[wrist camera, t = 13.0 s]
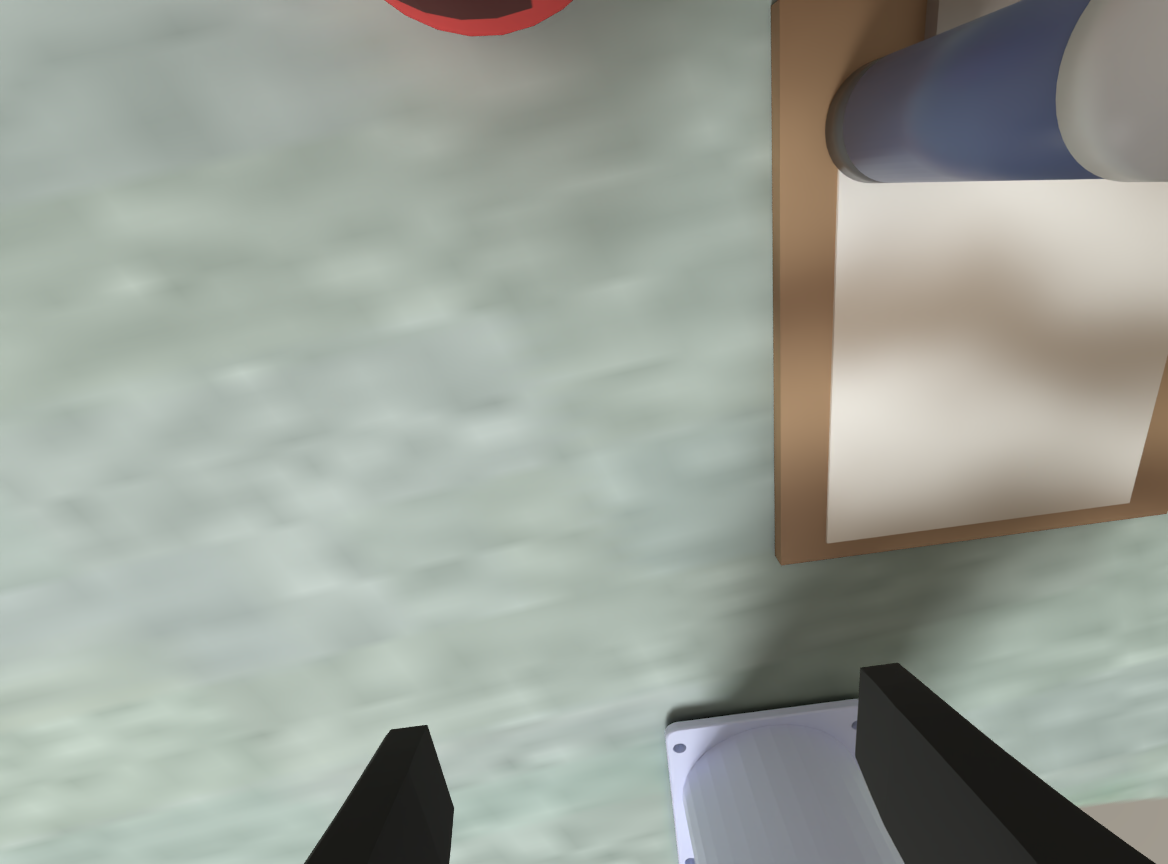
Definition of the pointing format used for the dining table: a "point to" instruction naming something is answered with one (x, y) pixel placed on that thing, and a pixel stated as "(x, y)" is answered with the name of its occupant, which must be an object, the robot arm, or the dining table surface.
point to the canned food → (479, 14)
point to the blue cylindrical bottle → (1014, 99)
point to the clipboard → (951, 326)
